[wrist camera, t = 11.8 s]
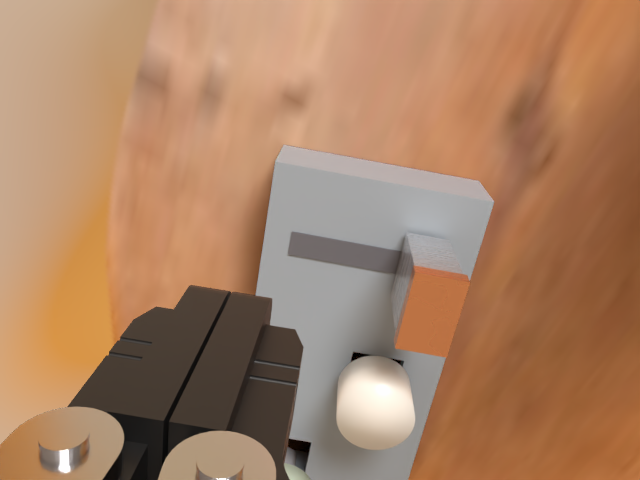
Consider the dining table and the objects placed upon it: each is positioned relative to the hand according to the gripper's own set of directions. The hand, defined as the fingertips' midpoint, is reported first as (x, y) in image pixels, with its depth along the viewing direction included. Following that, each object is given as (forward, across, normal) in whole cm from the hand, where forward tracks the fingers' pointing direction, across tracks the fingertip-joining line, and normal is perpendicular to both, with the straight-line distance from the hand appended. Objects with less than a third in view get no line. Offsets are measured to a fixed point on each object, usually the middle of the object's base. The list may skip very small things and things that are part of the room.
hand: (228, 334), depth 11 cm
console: (+25, -3, +14) cm, 29 cm away
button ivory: (+23, -5, +15) cm, 28 cm away
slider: (+20, -7, +7) cm, 23 cm away
